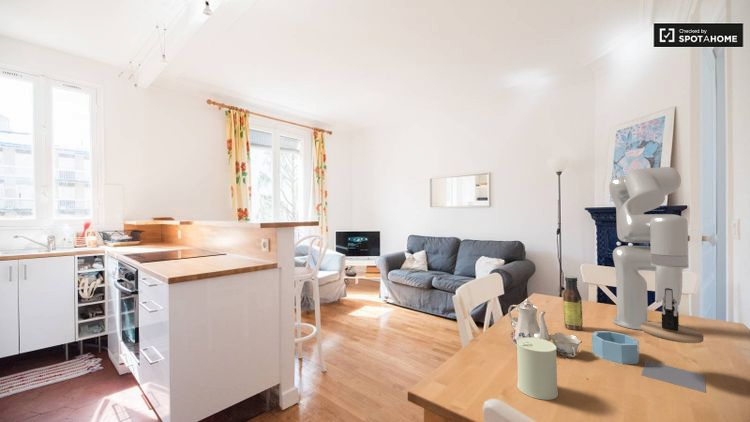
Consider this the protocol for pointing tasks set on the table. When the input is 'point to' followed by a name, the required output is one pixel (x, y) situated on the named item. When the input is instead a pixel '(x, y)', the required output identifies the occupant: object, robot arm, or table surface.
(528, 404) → the table surface
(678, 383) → the mat
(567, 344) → the chinaware
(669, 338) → the lid
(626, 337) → the bowl
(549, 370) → the can
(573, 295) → the sauce bottle
